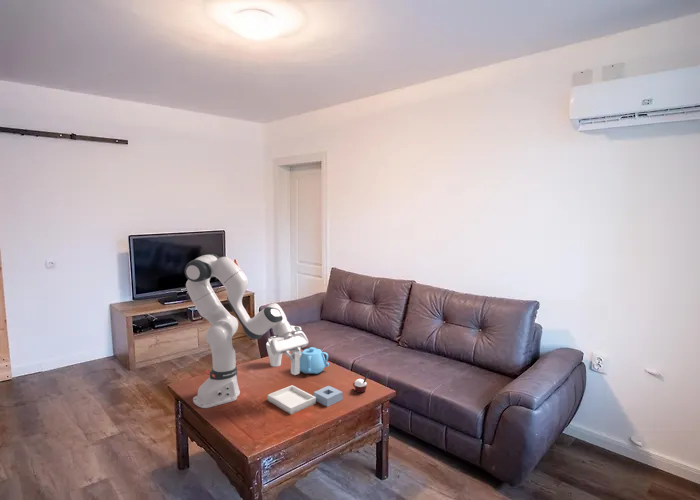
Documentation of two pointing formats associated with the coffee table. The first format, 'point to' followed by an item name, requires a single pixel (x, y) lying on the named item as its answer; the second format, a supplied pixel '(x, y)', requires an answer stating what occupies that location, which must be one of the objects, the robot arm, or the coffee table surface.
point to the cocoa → (361, 384)
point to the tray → (291, 399)
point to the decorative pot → (313, 361)
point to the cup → (273, 357)
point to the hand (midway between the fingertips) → (296, 358)
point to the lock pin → (295, 362)
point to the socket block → (328, 396)
